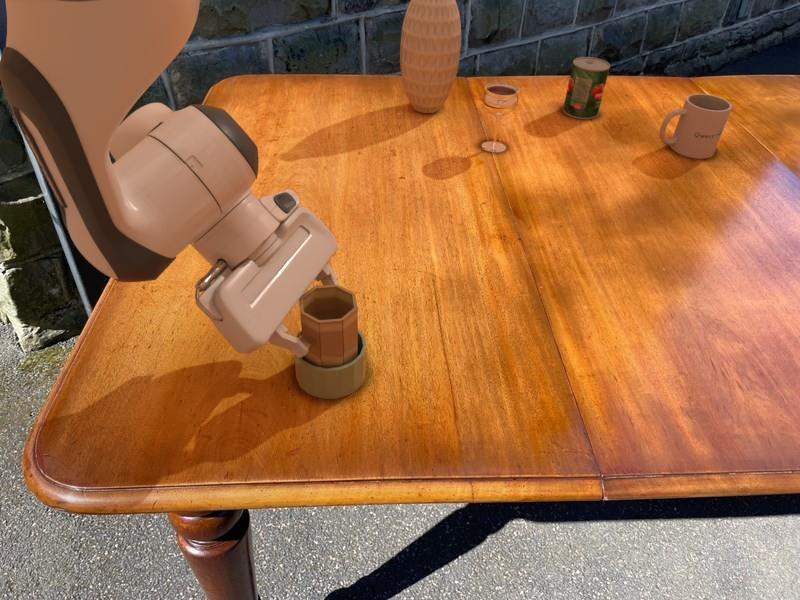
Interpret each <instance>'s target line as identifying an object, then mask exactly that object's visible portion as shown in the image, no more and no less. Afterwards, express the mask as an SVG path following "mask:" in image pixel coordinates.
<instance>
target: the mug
mask: <svg viewBox="0 0 800 600" xmlns="http://www.w3.org/2000/svg"><path fill="white" fill-rule="evenodd" d="M732 108H733V105H732V103H731V102H730V101H728V100H726V99H725V98H723V97H720V96H717V95H713V94H709V93H708V94H706V93H691V94H689V95H687V96H686V98H685V100H684V104H683V106H682V108H677V109H673V110H672V111H670V112H668V114H667V115H666V116H665V118H664V119H663V120H662V123H661V125H660V127H659V128H660V129H659V139H660V141H661V143H663V144H664V145H666V146H670V148H671V150H673V151H674V153H677V154H678V155H681V156H683V157H686V158H691V159H697V160H699V159H700V160H702V159H703V160H705V159H709V158H711V157H713V156H714V154H715V152H716V149H717V147H718V144H719V142H720V139H721V136H722V133H723V131H724V129H725V126H726V124H727V121H728V119H729V116H730V113H731V111H732ZM676 116H679V118H678V121H677V124H676V127H675V130H674V133H673V136H672V138H666V137H665V136H666V130H667V127H668V125H669V123H670V122H671V120H672V119H673V118H674V117H676Z"/></svg>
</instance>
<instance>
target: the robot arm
mask: <svg viewBox="0 0 800 600" xmlns="http://www.w3.org/2000/svg"><path fill="white" fill-rule="evenodd" d="M200 5H201V0H5V8H6V39H5V40H6V41H5V47H4V48H3V50H2V54H1V56H0V83H1V87H2V90H3V92H4V95H5V98H6V99H7V102H8V105H9V107H10V109H11V111H12V114H13V115H14V118H15V120H16V123H17V125H18V127H19V129H20V131H21V133H22V135H23V137H24V139H25V141H26V143H27V145H28V147H29V149H30V151H31V152H32V155H33V157H34V159H35V160H36V162H37V165H38V166H39V169H40V171H41V173H42V174H43V176H44V178H45V180H46V182H47V184H48V186H49V188H50V190H51V192H52V193H53V196H54V198H55V200H56V202H57V204H58V206H59V209H60V214H61V217H62V222H63V225H64V226H65V228H66V230H67V231H68V232H67V233H68V234H69V237H70V239H71V241H72V242H73V245H74V246H75V248H76V249H77V250H78V252H79V253H80V254H81V256H82V257H83V258H84V259H85V260H86V261H87V262H88V263H89V264H90V265H91V266H93V268H95V269H96V270H97V271H99V272H101V273H102V274H103V275H105V276H107V277H109V278H111V279H113V280H115V281H116V282H120V283H142V282H151V281H156V280H157V279H158V278H159V277H160V276H161V275H162V274H163V273H164V272H165V271H166V270H167V269H168V268H169V266H171V265H172V263H173V262H174V261H176V259H177V256H179V255H180V254H181V253H182V252H183V251H184V250H185V249H186V248H187V247H189V246H190V245H191V247H193V249H194V250H195V251H196V252H197V253H198V254H199V255H200V256H201V257H202V258H203V259H204V260H205V261H206V262H207V263H208V264H209V265H210V266H211V267H210V268H209V269H208V271H207V272H206V274H205V275H204V276H202V277H200V278H199V279H198V280H197V282H196V283H195V285H194V288H195V291H194V299H195V301H194V302H195V305H196V306H197V308H198V309H199V310H201V312H203V313H204V314H205V315H206V316H207V317H208V318H209V320H210V321H211V322H212V324H213V325H214V327H215V328H216V329H217V330H218V332H219V333H220V334H221V335H222V337H223V338H224V339H225V340H226V342H228V344H229V345H230V346H231V347H232V348H233V349H234V350H235V351H237V352H238V353H240V354H247V355H249V354H252V353H253V352H256V351H258V350H259V349H261V348H262V347H264V346H265V345H266V344H267V343H270V344H271V345H273V346H277V347H281V348H284V349H288V350H289V351H290V352H291V353H292V354H293V356H294V355H295V356H297V357H298V358H301V357H303V356H305V355H306V354H307V353H308V351H309V350H310V348H311V347H312V343H311V342H310V341H308V340H307V338H306V337H305V336H304V335H301V336H300V337H298V338H297V336H295V335H292V334H289V333H287V332H288V331H289V330H288V327H286V326H285V324H283V322H284V320H286V318H287V316H288V315H289V314H290V313H291V311H292V310H293V308H295V306H296V305H297V303H299V299H300V298H301V297H302V295H303V294H305V293H306V292H307V291H308V289H310V288H309V287H310V286H311V285H312V284H313V282H314V281H316V282H321V284H322V285H321V286H324V285H339V281H338V279H337V276H336V273H335V271H334V269H333V267H332V266H331V265H330V264H329V262H330V260H331V259H332V258H333V256H334V255H335V254H336V252H338V250H339V245H338V242H337V239H336V236H335V235H334V234H333V233H332V231H331V230H330V229H329V227H327V226H326V225H325V223H324V222H323V221H322V220H321V219H320V218H319V217H318V216H317V215H316V214H315V213H314V212H313V211H312V210H311V209H309V208H308V207H307V206H303V205H300V204H301V199H300V196H299V195H298V194H297V193H296V192H295V191H294V190H293V189H291V188H287V189H283V190H281V191H278V192H275V193H272V194H268V195H264V196H262V197H259V198H258V197H257V195H256V194H255V193H254V192H253V191H252V190H251V187H252V186H253V184H254V183H255V181H256V180H257V179H258V175H259V167H260V166H259V163H260V161H259V148H258V146H257V145H256V143H255V142H254V140H253V139H252V138H251V137H250V136H249V134H248V133H247V132H246V130H244V129H243V128H242V127H241V125H240V124H239V123H238V122H237V121H236V120H235V119H234V118H233V116H231V114H230V113H228V111H226V110H225V109H223V108H221V107H218V106H213V105H207V104H197V103H196V104H194V103H193V104H189V105H188V106H186V107H183V108H182V109H180V110H172V109H171V108H170V107H168V106H167V105H165V104H164V103H162V102H150V103H146V104H144V105H142V106H140V107H138V108H136V109H134V110H133V111H132V112H131V113H129V112H130V110H131V109H132V108H133V107H134V106H135V104H136V103H137V102H138V100H140V99H141V97H142V96H143V94H144V93H145V92H146V91H147V90H148V89H149V88H150V87H151V86H152V84H153V83H154V82H155V81H156V80H157V79H158V78H159V77H160V75H162V73H163V72H164V71H165V70H166V69H167V68H168V67H169V65H170V64H171V63H172V62H173V61H174V60H175V59H176V58H177V57H178V55H179V54H180V52H181V51H182V50H183V48H184V47H185V46H186V44H187V43H188V40H189V39H190V38H191V35H192V33H193V31H194V29H195V26H196V23H197V20H198V16H199V12H200ZM128 113H129V114H128ZM110 155H111V156H112V158H113V160H114V162H112V159H111V156H110ZM200 293H201V294H200Z"/></svg>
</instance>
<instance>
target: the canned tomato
mask: <svg viewBox="0 0 800 600" xmlns="http://www.w3.org/2000/svg"><path fill="white" fill-rule="evenodd" d="M610 68H611V64H610V63H609V62H608V61H607V60H605V59H602V58H598V57H593V56H580V57H579V56H578V57H576V58H574V59H573V60H572V66H571V70H570V75H569V80H568V84H567V89H566V94H565V98H564V103H563V107H562V112H563V113H564V114H565V115H566V116H568V117H571V118H574V119H578V120H592V119H595V118H597V117H598V116H599V111H600V108H601V104H602V100H603V95H604V93H605V88H606V85H607V84H606V83H607V80H608V76H609V72H610Z"/></svg>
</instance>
